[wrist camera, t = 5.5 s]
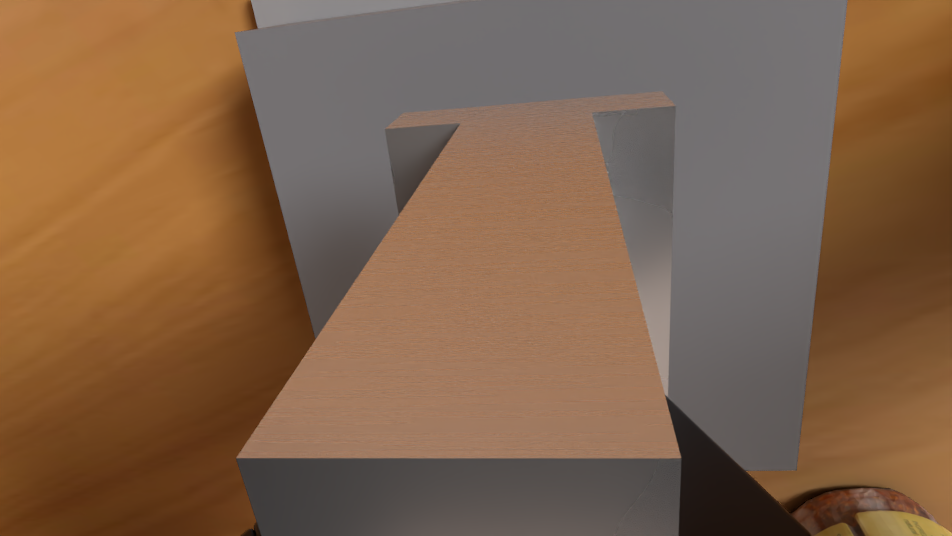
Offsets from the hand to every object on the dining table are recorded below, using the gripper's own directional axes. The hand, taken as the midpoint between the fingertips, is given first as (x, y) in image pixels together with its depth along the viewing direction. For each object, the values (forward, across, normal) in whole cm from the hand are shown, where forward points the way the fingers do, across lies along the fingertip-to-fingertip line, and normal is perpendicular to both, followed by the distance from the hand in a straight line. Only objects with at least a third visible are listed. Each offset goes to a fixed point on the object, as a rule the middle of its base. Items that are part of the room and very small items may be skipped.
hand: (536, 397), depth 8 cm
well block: (+13, 0, +2) cm, 13 cm away
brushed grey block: (+3, 0, 0) cm, 3 cm away
